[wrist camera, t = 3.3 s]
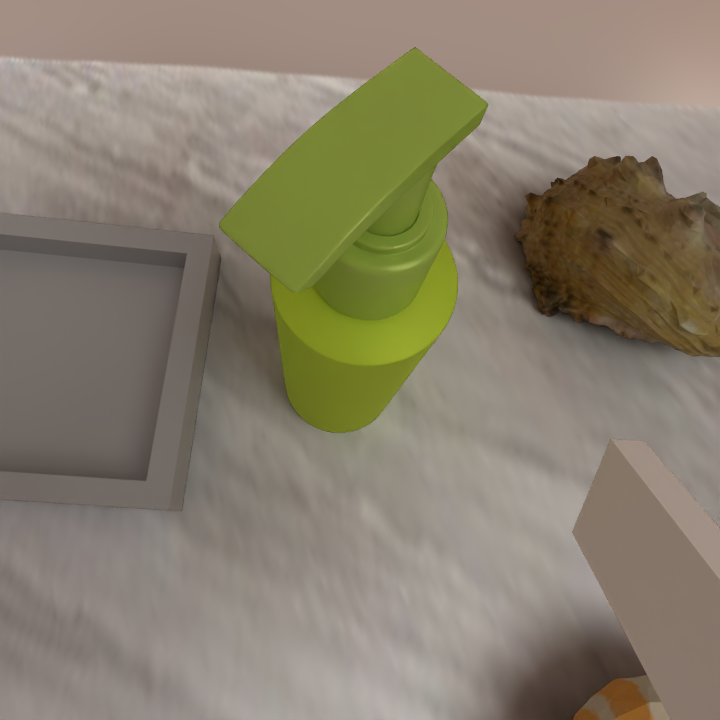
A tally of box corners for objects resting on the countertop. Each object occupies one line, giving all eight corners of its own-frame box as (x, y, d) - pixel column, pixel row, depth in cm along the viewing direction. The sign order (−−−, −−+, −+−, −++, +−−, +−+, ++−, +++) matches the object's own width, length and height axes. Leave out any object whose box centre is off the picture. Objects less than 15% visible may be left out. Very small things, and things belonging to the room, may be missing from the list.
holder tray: (221, 258, 30) (213, 235, 27) (181, 510, 26) (168, 510, 23) (-35, 232, 29) (-67, 205, 26) (-119, 491, 25) (-166, 489, 22)
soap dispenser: (248, 395, 28) (126, 134, 9) (335, 309, 30) (391, -60, 11) (329, 470, 27) (389, 365, 8) (412, 377, 29) (621, 112, 10)
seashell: (684, 411, 32) (871, 372, 22) (473, 310, 30) (576, 222, 21) (711, 265, 35) (882, 177, 26) (524, 169, 34) (631, 40, 25)
